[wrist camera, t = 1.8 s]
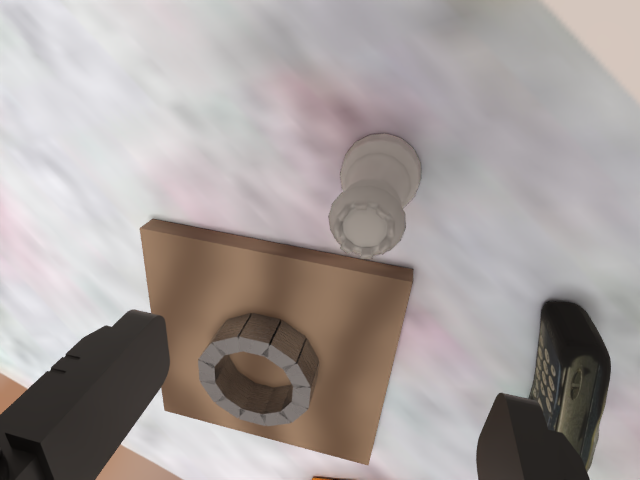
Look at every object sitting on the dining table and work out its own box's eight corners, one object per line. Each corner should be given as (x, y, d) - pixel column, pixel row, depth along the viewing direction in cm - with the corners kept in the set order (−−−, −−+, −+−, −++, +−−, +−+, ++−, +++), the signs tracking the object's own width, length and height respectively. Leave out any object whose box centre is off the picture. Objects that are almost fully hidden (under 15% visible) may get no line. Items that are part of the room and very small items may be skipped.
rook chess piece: (339, 201, 25) (307, 270, 18) (346, 127, 23) (311, 172, 16) (414, 211, 24) (411, 287, 17) (428, 135, 22) (430, 186, 15)
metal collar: (323, 328, 28) (314, 354, 25) (313, 408, 32) (305, 436, 29) (212, 303, 29) (195, 326, 27) (216, 383, 33) (201, 409, 31)
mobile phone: (556, 348, 21) (533, 529, 27) (624, 351, 20) (585, 536, 26) (533, 294, 25) (518, 461, 31) (589, 295, 24) (562, 465, 31)
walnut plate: (413, 269, 26) (412, 282, 24) (370, 448, 34) (368, 465, 33) (152, 218, 28) (139, 228, 27) (173, 397, 37) (164, 410, 36)
